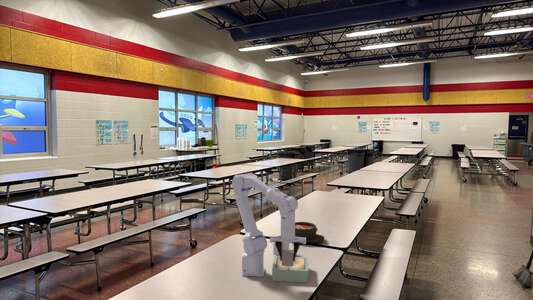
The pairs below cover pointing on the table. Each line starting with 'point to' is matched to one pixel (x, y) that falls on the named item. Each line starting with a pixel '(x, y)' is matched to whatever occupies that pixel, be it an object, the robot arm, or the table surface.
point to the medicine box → (284, 246)
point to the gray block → (287, 257)
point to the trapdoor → (296, 264)
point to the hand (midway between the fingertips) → (287, 260)
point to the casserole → (307, 232)
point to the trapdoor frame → (290, 272)
